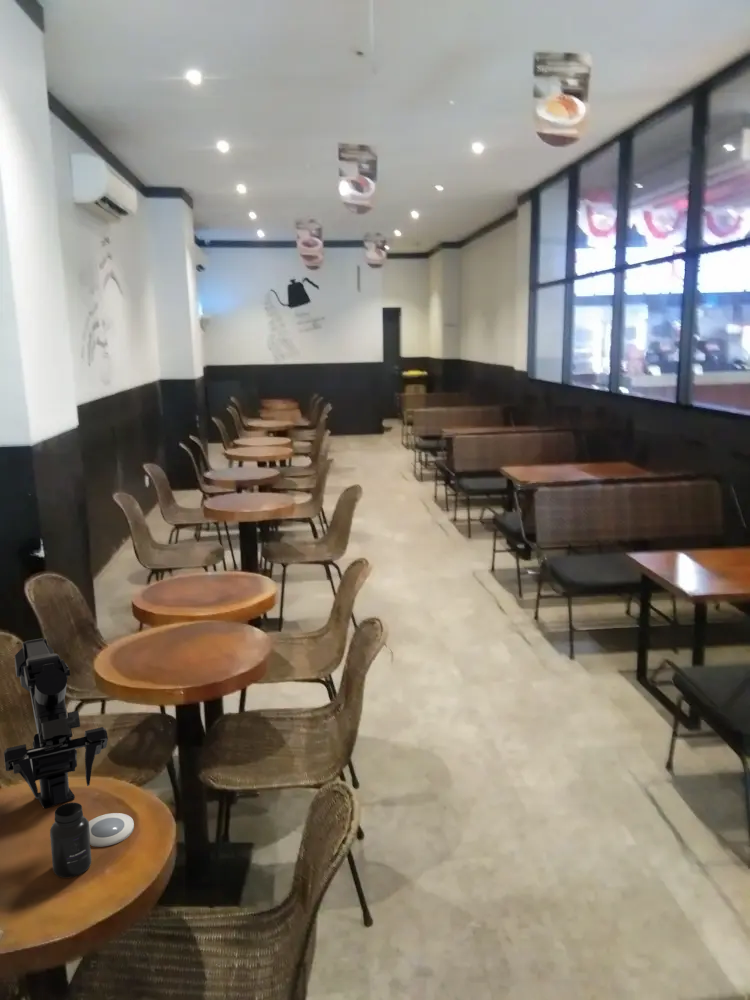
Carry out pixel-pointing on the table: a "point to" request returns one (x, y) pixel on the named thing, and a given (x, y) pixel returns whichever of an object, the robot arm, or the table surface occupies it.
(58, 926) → the table surface
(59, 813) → the supplement bottle
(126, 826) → the coaster
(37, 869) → the table surface
